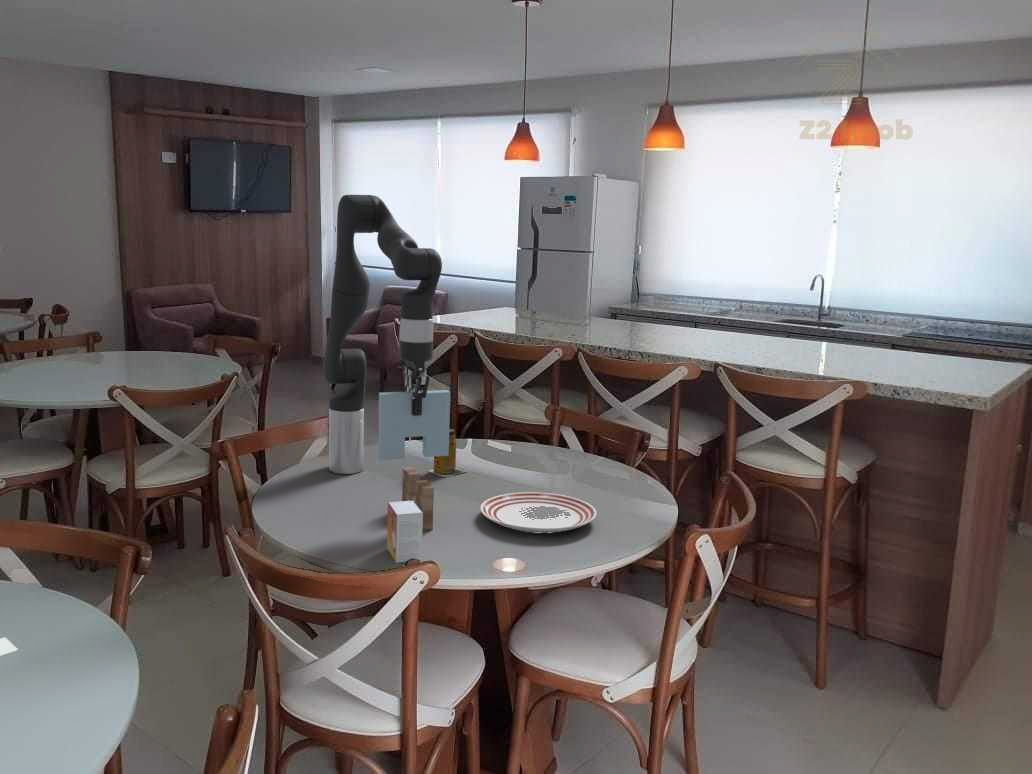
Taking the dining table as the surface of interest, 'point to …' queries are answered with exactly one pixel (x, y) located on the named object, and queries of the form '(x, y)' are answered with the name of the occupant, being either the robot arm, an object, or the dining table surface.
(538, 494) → the dinner plate
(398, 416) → the light blue square panel
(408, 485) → the walnut block
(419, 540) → the small box
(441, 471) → the condiment
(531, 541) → the dining table surface
